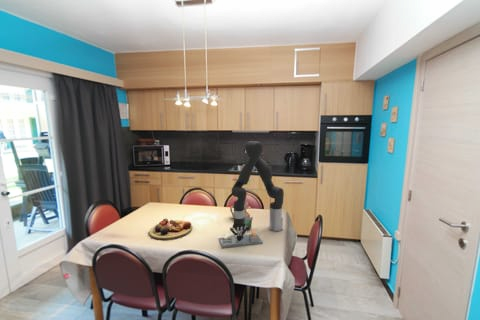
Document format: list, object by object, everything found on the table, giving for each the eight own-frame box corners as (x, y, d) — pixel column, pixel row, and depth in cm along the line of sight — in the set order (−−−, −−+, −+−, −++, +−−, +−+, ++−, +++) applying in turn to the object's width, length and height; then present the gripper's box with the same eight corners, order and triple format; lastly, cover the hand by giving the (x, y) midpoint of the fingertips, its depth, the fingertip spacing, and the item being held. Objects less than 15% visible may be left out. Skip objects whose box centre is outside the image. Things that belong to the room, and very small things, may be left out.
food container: (235, 229, 181) (234, 216, 180) (238, 226, 187) (238, 214, 185) (249, 232, 176) (249, 219, 175) (252, 228, 182) (252, 216, 180)
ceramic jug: (252, 216, 207) (252, 200, 205) (249, 222, 193) (248, 206, 191) (232, 215, 211) (232, 199, 209) (228, 221, 197) (227, 204, 195)
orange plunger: (255, 237, 163) (255, 231, 163) (257, 240, 160) (257, 233, 159) (250, 238, 163) (250, 231, 162) (252, 240, 159) (252, 234, 159)
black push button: (242, 236, 167) (242, 232, 167) (243, 238, 164) (243, 235, 163) (237, 236, 166) (237, 233, 166) (238, 238, 163) (238, 235, 162)
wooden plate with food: (199, 224, 190) (199, 215, 189) (178, 243, 160) (178, 231, 159) (165, 221, 199) (164, 212, 198) (139, 237, 169) (138, 227, 168)
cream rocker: (234, 232, 166) (233, 230, 165) (235, 235, 162) (234, 233, 161) (224, 237, 164) (223, 236, 164) (225, 240, 161) (224, 238, 160)
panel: (257, 235, 171) (257, 229, 171) (262, 243, 159) (262, 237, 158) (219, 239, 165) (218, 233, 165) (221, 248, 153) (221, 241, 152)
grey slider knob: (234, 240, 160) (234, 234, 160) (235, 243, 157) (235, 236, 156) (231, 241, 160) (231, 234, 159) (232, 243, 156) (232, 236, 156)
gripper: (230, 219, 151) (230, 244, 154) (250, 217, 154) (250, 242, 157) (228, 214, 159) (228, 239, 161) (247, 213, 162) (247, 237, 164)
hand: (239, 240), depth 159 cm, fingers closed
